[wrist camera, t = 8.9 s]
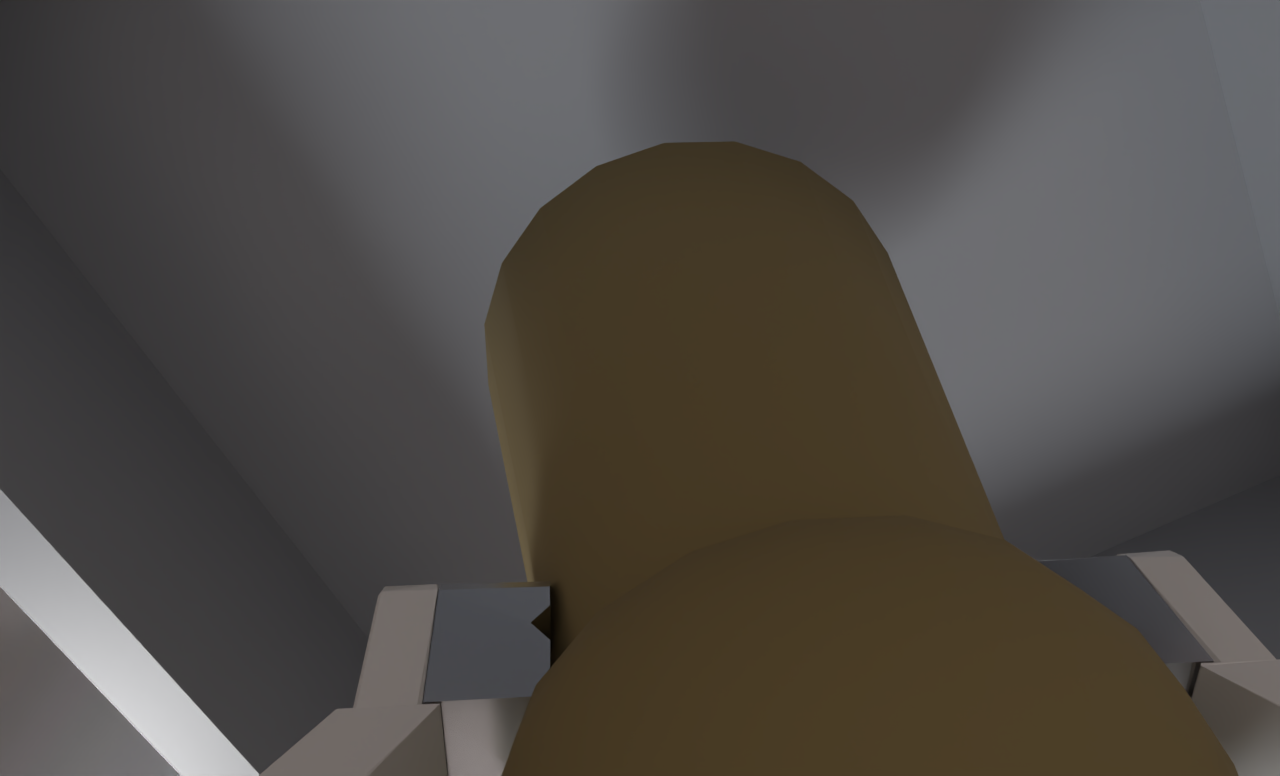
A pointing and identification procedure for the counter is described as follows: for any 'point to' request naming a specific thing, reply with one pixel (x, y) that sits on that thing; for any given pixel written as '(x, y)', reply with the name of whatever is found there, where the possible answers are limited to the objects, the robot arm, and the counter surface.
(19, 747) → the counter surface
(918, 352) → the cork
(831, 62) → the bin
